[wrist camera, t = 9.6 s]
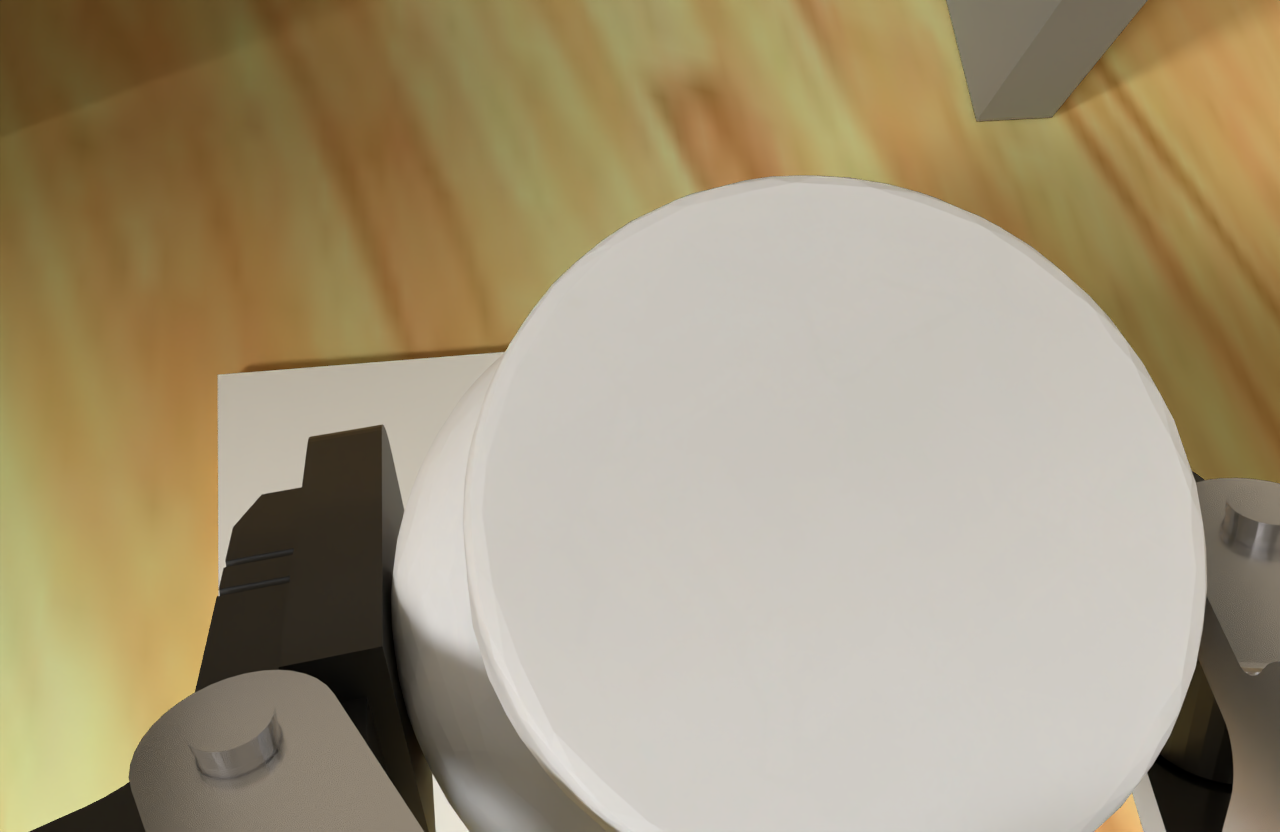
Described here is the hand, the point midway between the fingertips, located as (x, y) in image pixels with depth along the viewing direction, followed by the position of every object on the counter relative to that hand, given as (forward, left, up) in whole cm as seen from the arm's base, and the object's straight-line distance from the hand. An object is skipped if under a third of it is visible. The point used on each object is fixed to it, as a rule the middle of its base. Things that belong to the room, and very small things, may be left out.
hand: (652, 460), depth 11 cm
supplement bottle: (0, -2, -4) cm, 5 cm away
